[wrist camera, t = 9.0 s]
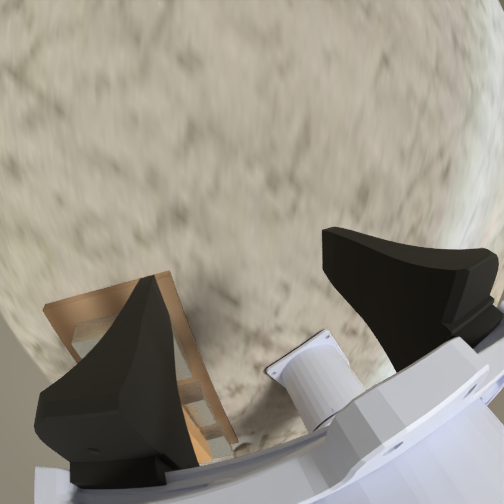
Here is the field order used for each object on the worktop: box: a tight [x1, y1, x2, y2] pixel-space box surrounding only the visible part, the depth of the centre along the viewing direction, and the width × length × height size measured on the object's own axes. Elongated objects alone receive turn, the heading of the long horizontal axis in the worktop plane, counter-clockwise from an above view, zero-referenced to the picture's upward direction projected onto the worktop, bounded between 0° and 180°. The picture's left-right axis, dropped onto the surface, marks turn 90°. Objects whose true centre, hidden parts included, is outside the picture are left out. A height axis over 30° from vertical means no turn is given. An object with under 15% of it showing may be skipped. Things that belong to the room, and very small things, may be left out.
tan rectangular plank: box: [182, 406, 213, 463], centre depth 24 cm, size 4×12×6 cm, turn 8°
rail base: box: [43, 271, 238, 444], centre depth 27 cm, size 12×30×1 cm, turn 8°
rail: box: [71, 301, 234, 459], centre depth 26 cm, size 8×26×2 cm, turn 8°
